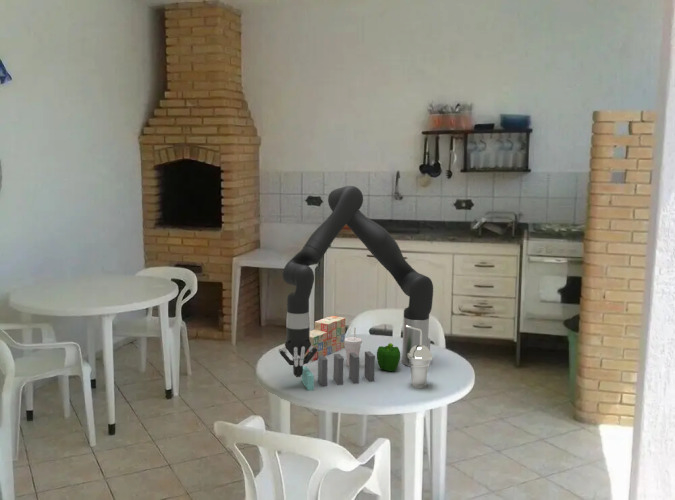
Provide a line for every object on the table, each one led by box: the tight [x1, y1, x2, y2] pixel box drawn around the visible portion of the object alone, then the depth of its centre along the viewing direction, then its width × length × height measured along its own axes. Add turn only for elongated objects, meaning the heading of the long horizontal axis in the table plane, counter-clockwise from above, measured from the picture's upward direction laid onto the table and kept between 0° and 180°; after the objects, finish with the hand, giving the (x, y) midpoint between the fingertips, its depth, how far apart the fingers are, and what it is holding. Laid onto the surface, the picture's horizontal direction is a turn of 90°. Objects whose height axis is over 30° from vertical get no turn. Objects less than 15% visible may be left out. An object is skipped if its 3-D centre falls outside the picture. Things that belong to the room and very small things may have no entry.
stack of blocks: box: [304, 315, 346, 362], centre depth 244 cm, size 21×6×12 cm, turn 146°
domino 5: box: [363, 351, 376, 383], centre depth 217 cm, size 2×5×9 cm, turn 17°
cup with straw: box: [406, 325, 433, 389], centre depth 211 cm, size 8×9×20 cm
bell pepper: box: [376, 342, 401, 372], centre depth 227 cm, size 8×8×10 cm
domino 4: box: [348, 353, 360, 384], centre depth 215 cm, size 2×5×9 cm, turn 17°
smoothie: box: [344, 327, 363, 367], centre depth 230 cm, size 6×6×14 cm
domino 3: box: [332, 353, 344, 386], centre depth 213 cm, size 2×5×9 cm, turn 17°
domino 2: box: [317, 355, 328, 387], centre depth 212 cm, size 2×5×9 cm, turn 17°
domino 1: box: [301, 366, 315, 391], centre depth 210 cm, size 2×5×9 cm
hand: (297, 376), depth 210 cm, fingers closed
